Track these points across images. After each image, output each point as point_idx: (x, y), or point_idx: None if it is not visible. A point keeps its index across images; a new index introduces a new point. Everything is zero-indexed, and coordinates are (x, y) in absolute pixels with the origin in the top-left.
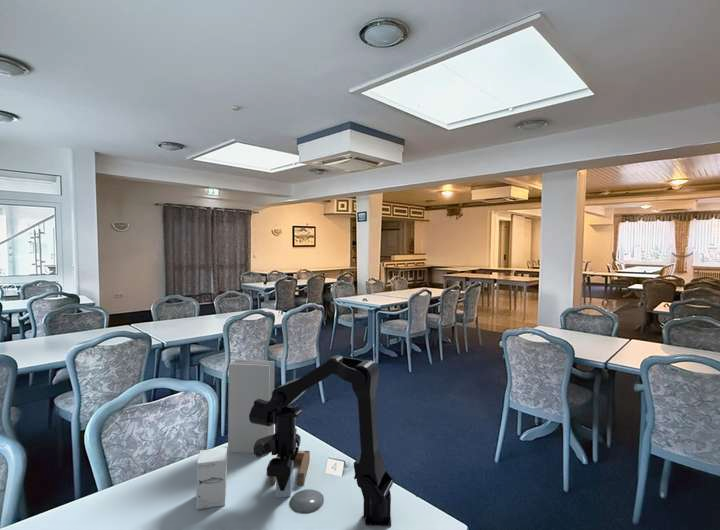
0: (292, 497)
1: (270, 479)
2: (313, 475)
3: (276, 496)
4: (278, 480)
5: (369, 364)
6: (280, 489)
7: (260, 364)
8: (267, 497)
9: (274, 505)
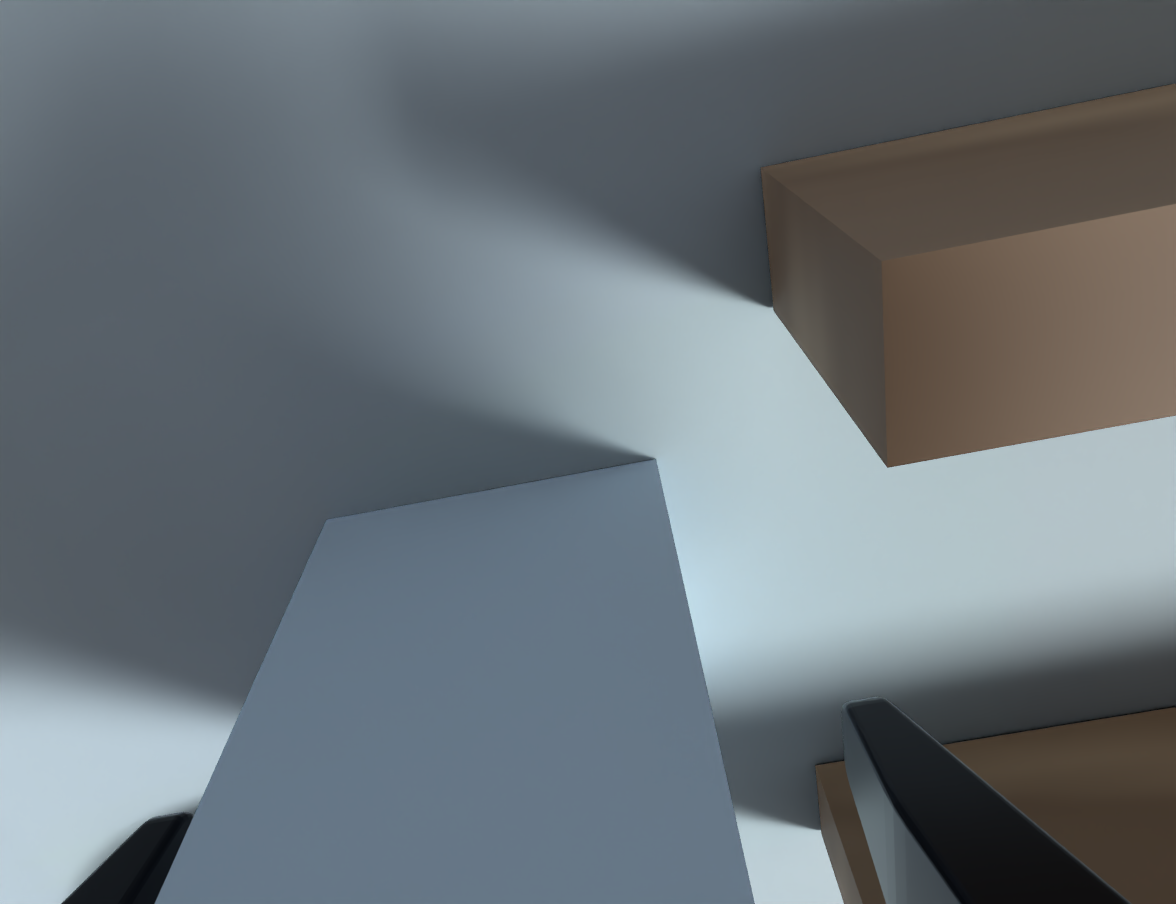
0: None
1: (805, 223)
2: None
3: (329, 529)
4: None
5: None
6: (122, 862)
7: None
8: (215, 353)
9: (40, 601)
